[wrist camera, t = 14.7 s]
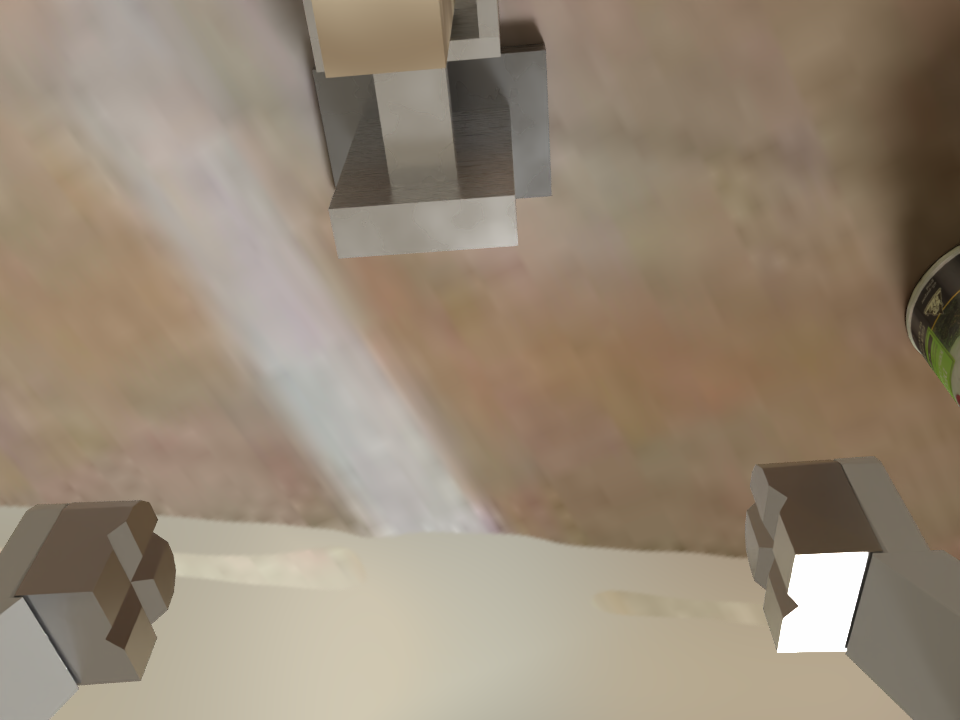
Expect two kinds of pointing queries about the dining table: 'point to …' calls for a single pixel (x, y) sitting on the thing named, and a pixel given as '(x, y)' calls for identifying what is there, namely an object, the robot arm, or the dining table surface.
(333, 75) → the rail post
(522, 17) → the dining table surface
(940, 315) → the coffee can
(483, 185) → the cup bracket
